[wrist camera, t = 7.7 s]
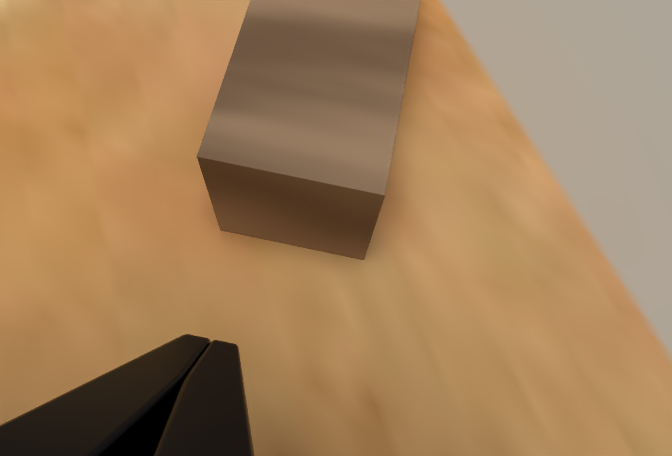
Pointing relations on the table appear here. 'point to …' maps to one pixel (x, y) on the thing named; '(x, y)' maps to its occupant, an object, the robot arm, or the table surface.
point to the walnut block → (309, 121)
